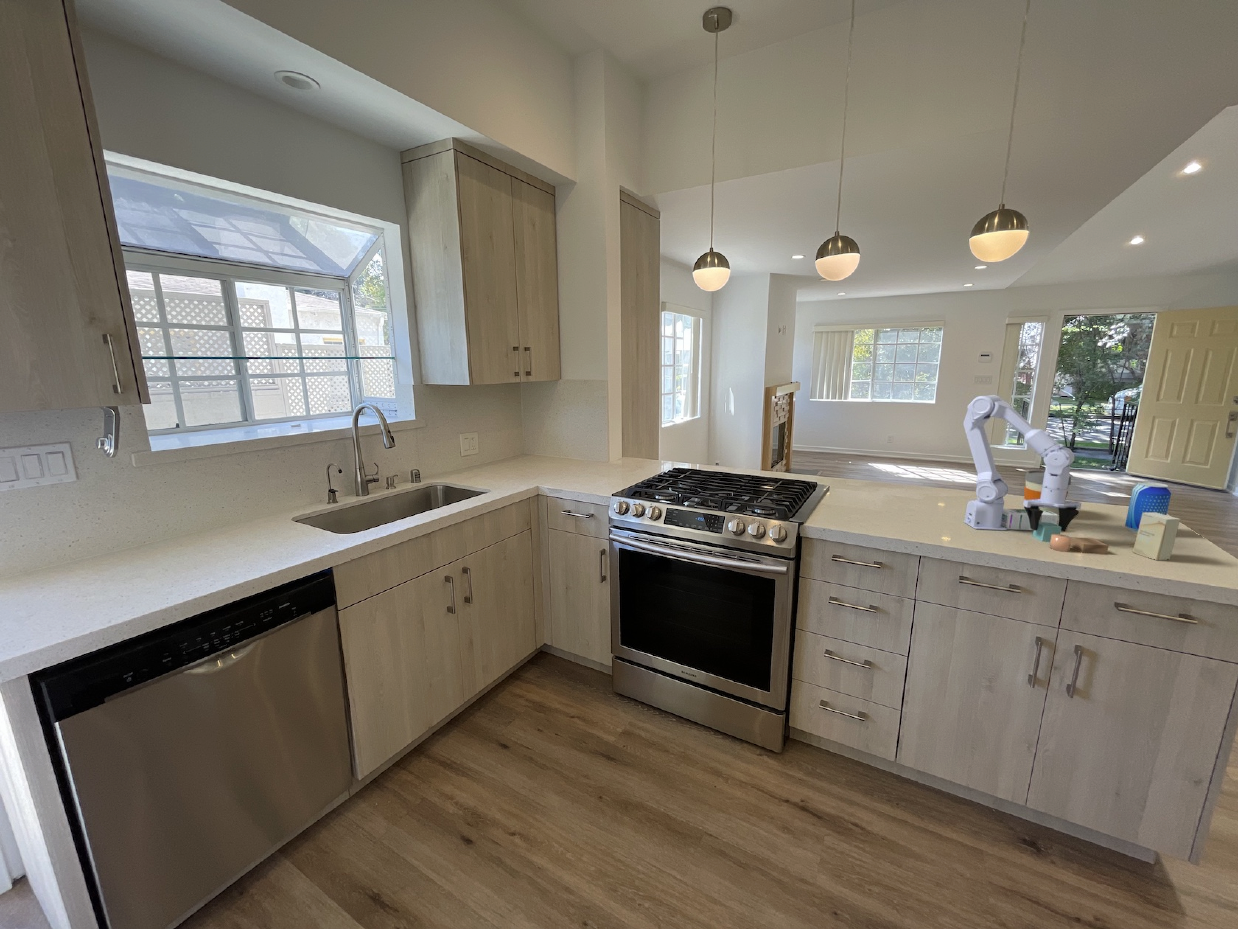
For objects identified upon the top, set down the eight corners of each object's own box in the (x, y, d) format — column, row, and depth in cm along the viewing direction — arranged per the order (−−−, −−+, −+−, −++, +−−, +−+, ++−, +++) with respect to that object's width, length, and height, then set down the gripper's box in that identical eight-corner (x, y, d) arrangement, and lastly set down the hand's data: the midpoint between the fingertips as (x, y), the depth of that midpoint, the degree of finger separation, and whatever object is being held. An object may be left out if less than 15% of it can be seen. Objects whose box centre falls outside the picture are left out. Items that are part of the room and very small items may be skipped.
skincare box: (1131, 552, 141) (1140, 512, 139) (1145, 551, 142) (1154, 511, 139) (1157, 561, 135) (1166, 519, 133) (1171, 560, 136) (1181, 518, 133)
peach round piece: (1055, 551, 143) (1058, 538, 142) (1045, 546, 147) (1047, 533, 146) (1073, 552, 142) (1075, 539, 141) (1062, 546, 146) (1064, 534, 145)
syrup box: (1059, 514, 158) (1008, 512, 161) (1056, 532, 159) (1006, 529, 162) (1047, 510, 163) (999, 507, 166) (1044, 526, 165) (996, 524, 167)
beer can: (1150, 529, 161) (1160, 482, 157) (1169, 537, 153) (1180, 488, 150) (1118, 526, 163) (1127, 480, 160) (1134, 534, 156) (1144, 486, 152)
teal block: (1042, 541, 151) (1044, 526, 150) (1032, 536, 155) (1035, 521, 154) (1058, 542, 150) (1061, 527, 149) (1048, 537, 154) (1051, 522, 153)
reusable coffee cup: (1065, 521, 169) (1072, 479, 166) (1018, 514, 177) (1025, 474, 174) (1064, 513, 178) (1071, 473, 175) (1020, 507, 186) (1026, 468, 183)
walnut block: (1082, 553, 141) (1083, 544, 141) (1067, 546, 147) (1069, 537, 147) (1106, 555, 140) (1108, 545, 140) (1091, 547, 146) (1093, 538, 145)
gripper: (1036, 490, 146) (1029, 533, 149) (1091, 491, 144) (1083, 535, 147) (1021, 484, 153) (1015, 525, 156) (1074, 485, 151) (1067, 527, 153)
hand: (1047, 530), depth 152 cm, fingers open, 7 cm apart
